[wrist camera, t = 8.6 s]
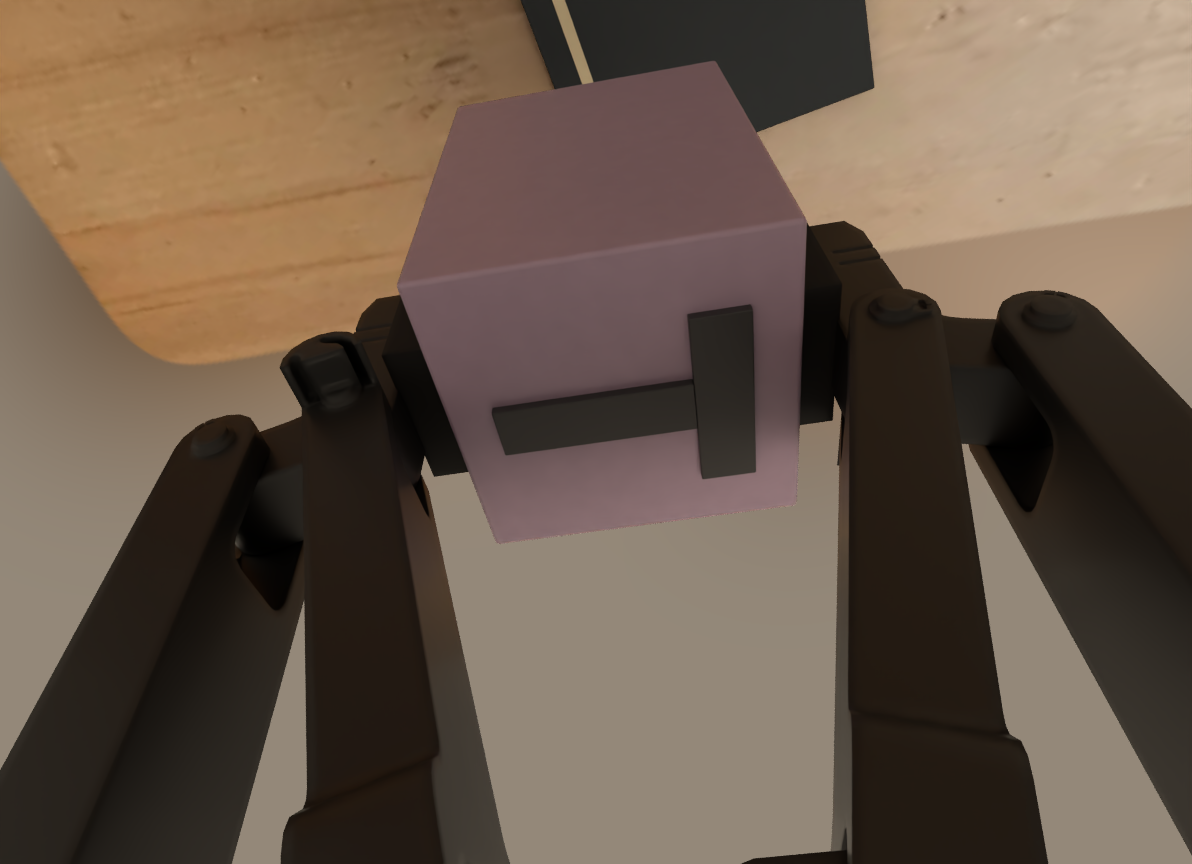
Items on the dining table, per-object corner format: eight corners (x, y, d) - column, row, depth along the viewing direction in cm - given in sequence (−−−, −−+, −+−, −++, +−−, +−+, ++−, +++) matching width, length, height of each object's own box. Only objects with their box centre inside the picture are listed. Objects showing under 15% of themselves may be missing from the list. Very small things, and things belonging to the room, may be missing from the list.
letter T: (449, 106, 15) (381, 292, 10) (715, 58, 15) (812, 222, 9) (510, 323, 19) (486, 553, 13) (726, 290, 18) (799, 513, 13)
